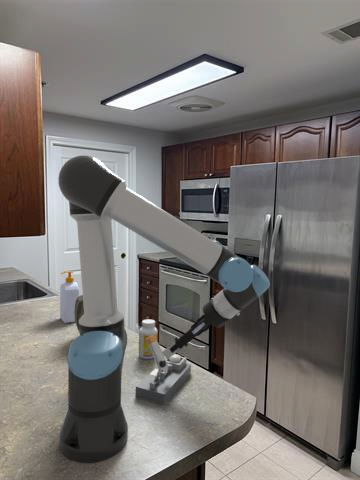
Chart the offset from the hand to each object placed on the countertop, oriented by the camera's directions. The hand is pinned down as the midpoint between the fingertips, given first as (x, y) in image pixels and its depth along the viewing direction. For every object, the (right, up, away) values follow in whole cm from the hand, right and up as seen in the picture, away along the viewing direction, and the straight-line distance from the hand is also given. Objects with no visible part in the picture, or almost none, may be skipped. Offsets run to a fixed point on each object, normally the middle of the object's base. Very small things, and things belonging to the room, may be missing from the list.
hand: (165, 355), depth 103 cm
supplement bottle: (-7, -7, +20) cm, 23 cm away
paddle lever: (0, -5, 0) cm, 5 cm away
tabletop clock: (-31, -5, +35) cm, 47 cm away
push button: (+3, -5, +7) cm, 9 cm away
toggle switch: (-3, -6, -6) cm, 9 cm away
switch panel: (0, -9, +1) cm, 9 cm away
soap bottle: (-48, -3, +56) cm, 73 cm away
